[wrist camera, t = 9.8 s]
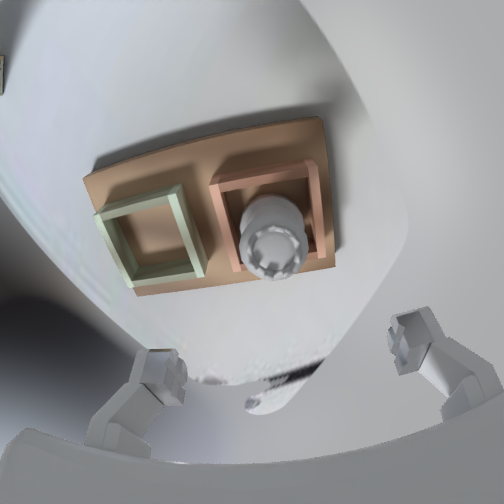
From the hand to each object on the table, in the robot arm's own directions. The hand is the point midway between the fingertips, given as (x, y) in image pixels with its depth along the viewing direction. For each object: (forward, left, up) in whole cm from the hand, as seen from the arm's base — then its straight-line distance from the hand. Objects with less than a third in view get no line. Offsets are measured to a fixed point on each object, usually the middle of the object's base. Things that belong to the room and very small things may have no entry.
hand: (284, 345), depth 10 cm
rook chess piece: (+1, 0, -12) cm, 12 cm away
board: (+1, -4, -14) cm, 14 cm away
